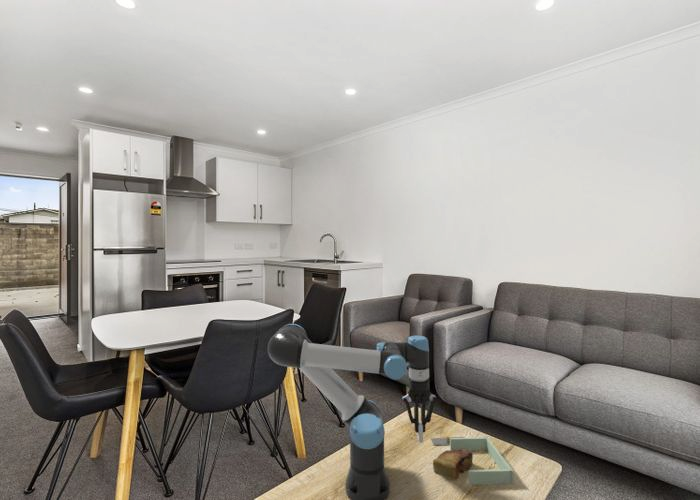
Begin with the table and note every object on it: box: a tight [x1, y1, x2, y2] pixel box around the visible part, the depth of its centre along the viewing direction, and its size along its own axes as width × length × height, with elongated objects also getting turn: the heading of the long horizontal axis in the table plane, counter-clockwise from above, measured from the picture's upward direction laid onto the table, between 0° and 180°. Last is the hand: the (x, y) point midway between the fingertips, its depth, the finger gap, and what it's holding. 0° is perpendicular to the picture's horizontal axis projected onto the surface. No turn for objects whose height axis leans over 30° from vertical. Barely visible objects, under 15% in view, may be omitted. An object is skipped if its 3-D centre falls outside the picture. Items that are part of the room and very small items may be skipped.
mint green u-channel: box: [449, 436, 514, 486], centre depth 137 cm, size 16×22×4 cm
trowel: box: [430, 436, 466, 446], centre depth 152 cm, size 14×4×2 cm, turn 91°
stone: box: [432, 449, 474, 481], centre depth 135 cm, size 15×9×5 cm, turn 131°
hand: (420, 440), depth 136 cm, fingers closed
